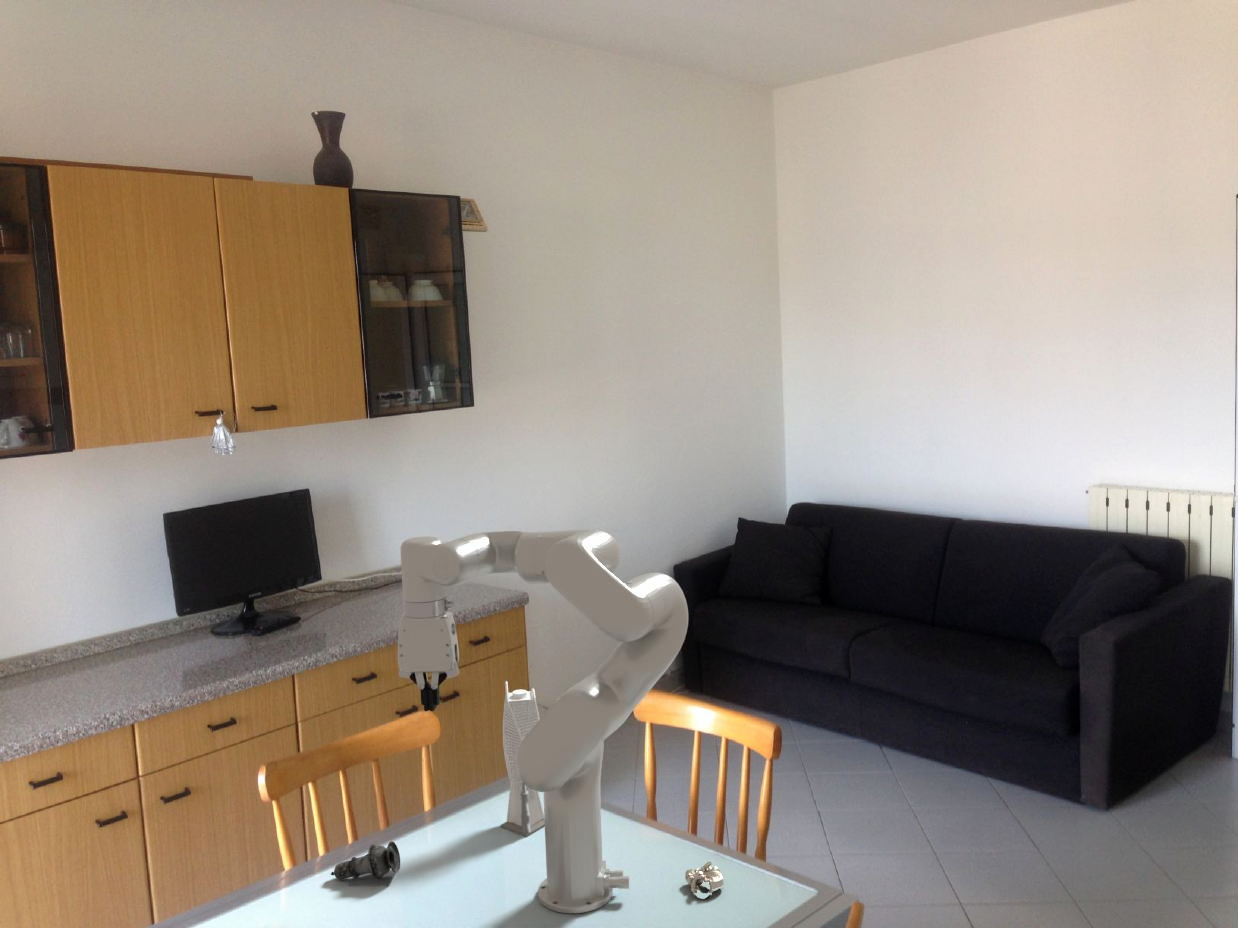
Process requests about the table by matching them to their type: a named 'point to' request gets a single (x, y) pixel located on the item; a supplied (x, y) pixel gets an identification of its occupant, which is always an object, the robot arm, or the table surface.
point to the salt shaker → (370, 863)
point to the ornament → (704, 877)
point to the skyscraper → (516, 725)
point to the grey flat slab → (372, 880)
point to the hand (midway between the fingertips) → (430, 708)
